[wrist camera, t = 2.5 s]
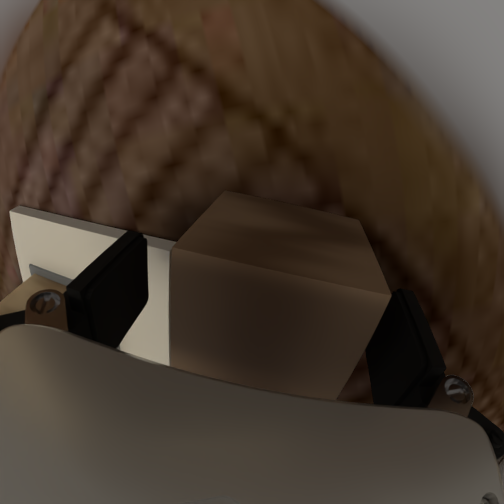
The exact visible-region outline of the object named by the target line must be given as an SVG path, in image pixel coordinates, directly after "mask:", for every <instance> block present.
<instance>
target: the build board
mask: <svg viewBox="0 0 504 504" xmlns="http://www.w3.org/2000/svg"><path fill="white" fill-rule="evenodd" d="M10 218H11V225H12V231H13V237H14V242H15V248H16V253H17V257H18V262H19V266H20V271H21V275H22V279H23V282H25V281H26V280H27V279H28V278H29V277H31V276H32V275H33V274H34V273H35V274H37V275H40V276H42V277H45V278H47V279H50V280H52V281H55V282H57V283H60V284H63V285H65V286H67V285H68V284H69V283H70V282H71V281H73V280H74V279H75V278H76V277H77V276H78V275H79V274H80V273H81V272H82V271H83V270H84V269H85V268H86V267H87V266H88V265H90V264H91V263H92V262H93V261H94V260H95V259H96V258H97V257H98V256H99V255H100V254H102V253H103V252H104V251H105V250H106V249H107V248H108V247H109V246H111V245H112V244H113V243H114V242H115V241H116V240H117V239H119V238H120V237H121V236H122V235H123V234H124V233H126V232H127V231H126V230H122V229H117V228H113V227H109V226H104V225H100V224H96V223H91V222H87V221H83V220H79V219H74V218H70V217H66V216H61V215H57V214H53V213H49V212H44V211H40V210H36V209H32V208H28V207H23V206H18V207H16V208H14V209H12V210H10ZM143 236H144V238H146V239H147V250H148V289H149V298H148V302H147V304H146V306H145V307H144V309H143V310H142V312H141V313H140V314H139V316H138V317H137V319H136V320H135V322H134V323H133V325H132V326H131V328H130V329H129V331H128V332H127V334H126V335H125V337H124V338H123V340H122V342H121V343H120V345H119V346H118V348H117V349H118V350H121V351H124V352H127V353H130V354H133V355H136V356H139V357H142V358H145V359H148V360H151V361H155V362H158V363H161V364H164V365H168V366H171V341H170V299H171V260H172V247H173V246H174V244H175V243H176V242H174V241H170V240H165V239H161V238H157V237H152V236H148V235H143Z"/></svg>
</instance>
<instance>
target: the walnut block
mask: <svg viewBox="0 0 504 504" xmlns="http://www.w3.org/2000/svg"><path fill="white" fill-rule="evenodd" d="M391 296H392V295H391V293H390V290H389V288H388V285H387V283H386V280H385V278H384V275H383V273H382V271H381V268H380V266H379V264H378V261H377V259H376V257H375V254H374V252H373V250H372V248H371V245H370V243H369V241H368V239H367V237H366V234H365V232H364V230H363V228H362V226H361V224H360V222H359V220H357V219H353V218H349V217H345V216H341V215H337V214H332V213H328V212H324V211H320V210H316V209H311V208H307V207H302V206H298V205H294V204H289V203H284V202H280V201H275V200H270V199H266V198H261V197H256V196H251V195H246V194H241V193H236V192H231V191H226V190H225V191H224V192H223V193H222V194H221V195H220V196H219V197H218V198H217V199H216V200H215V201H214V202H213V203H212V204H211V205H210V207H209V208H208V209H207V210H206V211H205V212H204V213H203V214H202V215H201V216H200V217H199V218H198V219H197V220H196V221H195V223H194V224H193V225H192V226H191V227H190V228H189V229H188V230H187V231H186V232H185V233H184V235H183V236H182V237H181V238H180V239H179V240H178V241H177V242H176V243H175V244H174V246H173V247H172V260H171V299H170V341H171V367H175V368H178V369H182V370H185V371H189V372H193V373H197V374H200V375H204V376H208V377H212V378H216V379H220V380H224V381H229V382H233V383H238V384H242V385H247V386H252V387H256V388H261V389H267V390H272V391H277V392H283V393H289V394H295V395H301V396H308V397H314V398H322V399H329V400H336V399H337V397H338V395H339V394H340V392H341V390H342V389H343V387H344V385H345V384H346V382H347V380H348V379H349V377H350V375H351V374H352V372H353V370H354V368H355V367H356V365H357V363H358V361H359V360H360V358H361V356H362V354H363V352H364V350H365V349H366V347H367V345H368V343H369V341H370V339H371V337H372V335H373V333H374V331H375V329H376V327H377V325H378V323H379V321H380V319H381V317H382V315H383V313H384V311H385V309H386V307H387V305H388V303H389V300H390V298H391Z"/></svg>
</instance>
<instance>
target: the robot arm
mask: <svg viewBox="0 0 504 504" xmlns="http://www.w3.org/2000/svg"><path fill="white" fill-rule="evenodd" d="M66 289H67V290H66V291H65V292H64V293H63V294H62V293H61V292H59V291H57V290H54V289H44V290H41V291H38V292H36V293H34V294H33V295H32V296H30V297H29V299H28V300H27V303H26V308H25V310H22V311H18V312H13V313H9V314H4V315H0V504H504V433H503V431H502V430H501V429H500V428H498V427H497V426H496V425H495V424H493V423H492V422H491V421H490V420H488V419H487V418H486V417H485V416H483V415H482V414H481V413H480V412H478V411H477V410H476V409H475V408H473V407H472V403H473V399H474V395H473V391H472V389H471V387H470V386H469V384H468V383H467V382H466V381H465V380H464V379H462V378H460V377H459V376H455V375H448V376H445V374H444V371H445V369H446V366H445V363H444V361H443V358H442V355H441V353H440V350H439V348H438V346H437V343H436V341H435V338H434V336H433V334H432V331H431V329H430V327H429V324H428V322H427V320H426V318H425V316H424V313H423V311H422V309H421V307H420V305H419V303H418V300H417V298H416V296H415V294H414V292H413V291H410V290H405V289H398V290H397V291H394V292H392V294H391V295H392V296H391V298H390V300H389V303H388V305H387V307H386V309H385V311H384V313H383V315H382V317H381V319H380V321H379V323H378V325H377V327H376V329H375V331H374V333H373V335H372V337H371V339H370V341H369V343H368V345H367V347H366V349H365V351H366V357H367V363H368V369H369V375H370V381H371V388H372V395H373V402H374V404H367V403H356V402H346V401H337V400H329V399H322V398H314V397H308V396H301V395H295V394H289V393H283V392H277V391H272V390H267V389H261V388H256V387H252V386H247V385H242V384H238V383H233V382H229V381H224V380H220V379H216V378H212V377H208V376H204V375H200V374H197V373H193V372H189V371H185V370H182V369H178V368H175V367H171V366H168V365H164V364H161V363H158V362H155V361H151V360H148V359H145V358H142V357H139V356H136V355H133V354H130V353H127V352H124V351H121V350H118V349H117V348H118V346H119V345H120V343H121V342H122V340H123V338H124V337H125V335H126V334H127V332H128V331H129V329H130V328H131V326H132V325H133V323H134V322H135V320H136V319H137V317H138V316H139V314H140V313H141V312H142V310H143V309H144V307H145V306H146V304H147V302H148V298H149V289H148V250H147V239H146V238H144V236H143V234H142V233H138V232H134V231H127V232H126V233H124V234H123V235H122V236H121V237H120V238H119V239H117V240H116V241H115V242H114V243H113V244H112V245H111V246H109V247H108V248H107V249H106V250H105V251H104V252H103V253H102V254H100V255H99V256H98V257H97V258H96V259H95V260H94V261H93V262H92V263H91V264H90V265H88V266H87V267H86V268H85V269H84V270H83V271H82V272H81V273H80V274H79V275H78V276H77V277H76V278H75V279H74V280H73V281H71V282H70V283H69V284H68V285H67V286H66Z"/></svg>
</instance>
